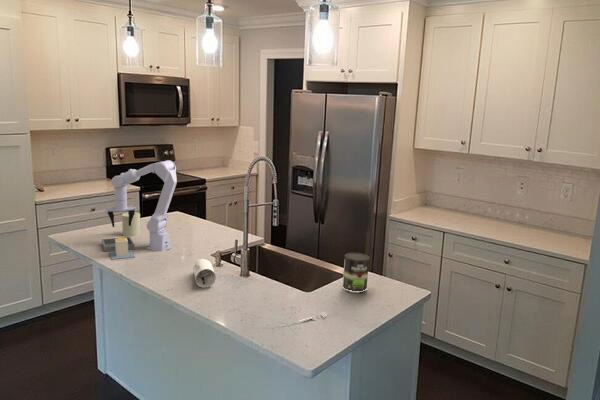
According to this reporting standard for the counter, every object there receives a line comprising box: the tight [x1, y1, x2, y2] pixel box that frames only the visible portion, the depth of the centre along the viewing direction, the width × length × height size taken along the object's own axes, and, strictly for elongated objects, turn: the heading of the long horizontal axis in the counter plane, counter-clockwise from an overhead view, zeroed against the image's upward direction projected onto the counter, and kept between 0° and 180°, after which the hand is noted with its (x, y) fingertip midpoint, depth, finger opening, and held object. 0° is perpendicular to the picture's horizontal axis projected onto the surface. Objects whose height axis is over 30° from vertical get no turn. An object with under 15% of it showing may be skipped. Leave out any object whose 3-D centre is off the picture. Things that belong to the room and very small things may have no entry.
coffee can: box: [342, 252, 370, 291], centre depth 197 cm, size 10×10×14 cm
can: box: [121, 211, 141, 237], centre depth 253 cm, size 9×9×12 cm
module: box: [114, 237, 128, 256], centre depth 221 cm, size 5×5×7 cm
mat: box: [108, 250, 136, 262], centre depth 221 cm, size 10×10×1 cm
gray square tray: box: [101, 236, 136, 253], centre depth 233 cm, size 13×13×3 cm
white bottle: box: [193, 258, 216, 288], centre depth 199 cm, size 8×19×8 cm, turn 17°
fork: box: [298, 310, 329, 321], centre depth 167 cm, size 3×20×2 cm, turn 122°
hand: (121, 226), depth 237 cm, fingers open, 7 cm apart
